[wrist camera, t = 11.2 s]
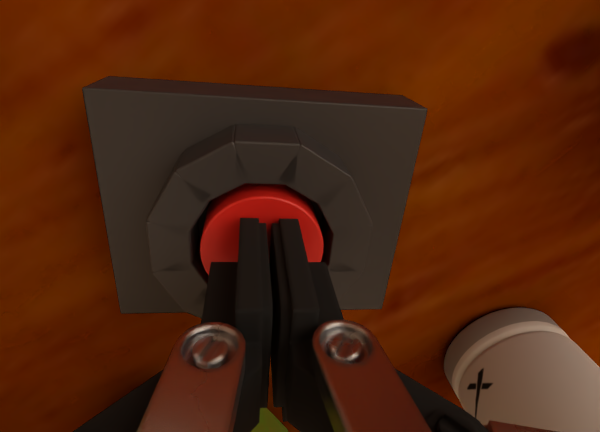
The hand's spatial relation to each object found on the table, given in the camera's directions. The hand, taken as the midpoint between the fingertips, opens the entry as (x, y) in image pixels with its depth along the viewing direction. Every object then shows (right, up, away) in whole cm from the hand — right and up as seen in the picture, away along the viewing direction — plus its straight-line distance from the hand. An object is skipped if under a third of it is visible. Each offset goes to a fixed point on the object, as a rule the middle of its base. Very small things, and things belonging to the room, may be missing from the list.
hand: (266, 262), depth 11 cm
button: (0, +1, +1) cm, 2 cm away
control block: (-1, +2, +4) cm, 4 cm away
